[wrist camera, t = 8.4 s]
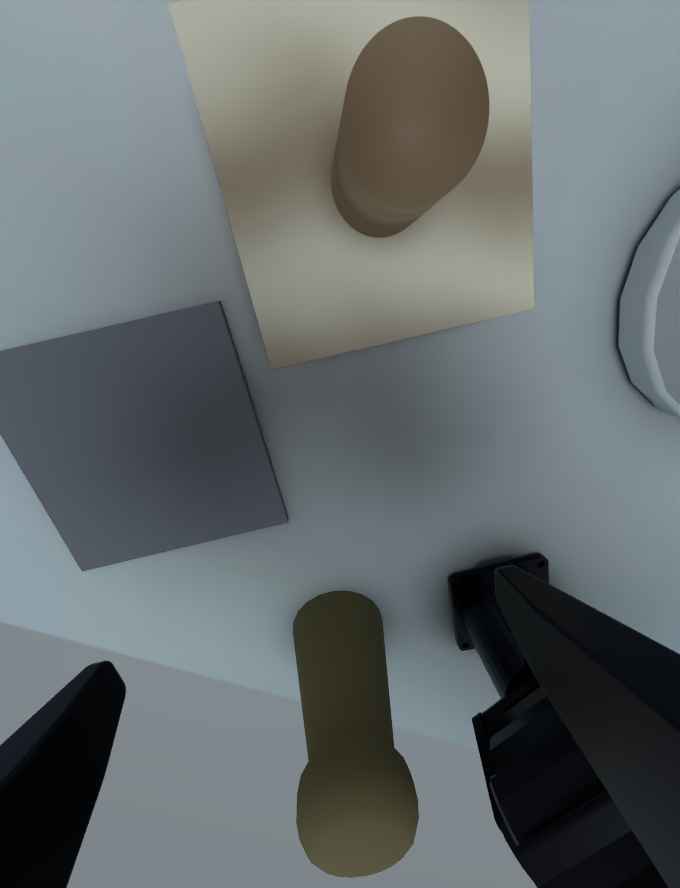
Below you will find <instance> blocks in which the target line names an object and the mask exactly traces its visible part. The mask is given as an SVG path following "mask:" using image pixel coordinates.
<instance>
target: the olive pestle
mask: <svg viewBox="0 0 680 888" xmlns="http://www.w3.org/2000/svg"><path fill="white" fill-rule="evenodd" d="M293 637H294V645H295V653H296V661H297V669H298V678H299V686H300V694H301V702H302V711H303V718H304V727H305V735H306V743H307V751H308V760H309V762H308V764H307V765H306V767H305V769H304V771H303V773H302V775H301V778H300V782H299V787H298V792H297V820H296V822H297V828H298V834H299V839H300V842H301V844H302V846H303V848H304V850H305V852H306V855H307V856H308V858H309V860H310V861H311V863H312V864H314V865H315V866H317V867H318V868H320V869H321V870H323V871H324V872H326V873H328V874H331V875H334V876H338V877H351V878H352V877H361V876H367V875H371V874H375V873H378V872H381V871H383V870H385V869H387V868H389V867H391V866H393V865H394V864H395V863H397V862H398V861H400V860H401V859H402V858H403V856H404V855H405V854H406V853H407V851H408V850H409V849H410V847H411V846H412V845H413V842H414V838H415V833H416V829H417V824H418V818H419V815H418V814H419V813H418V799H417V795H416V791H415V786H414V782H413V779H412V776H411V773H410V771H409V768H408V766H407V764H406V762H405V760H404V758H403V757H402V756H401V754H400V753H399V752H398V751H397V750H396V749H395V748H394V741H393V730H392V719H391V708H390V698H389V687H388V676H387V666H386V655H385V644H384V633H383V623H382V617H381V614H380V610H379V609H378V608H377V606H376V605H375V604H374V603H373V601H371V600H370V599H368V598H366V597H365V596H363V595H362V594H358V593H354V592H350V591H333V592H329V593H326V594H322V595H319V596H317V597H315V598H314V599H312V600H310V601H309V602H307V603H306V604H305V605H304V606H303V607H302V608H301V609H300V610H299V611H298V613H297V616H296V618H295V620H294V622H293Z"/></svg>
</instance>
